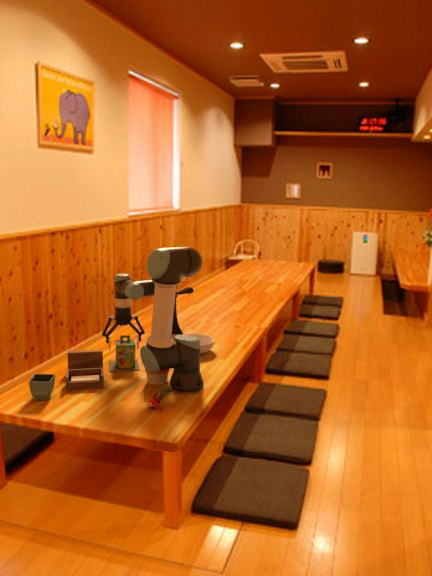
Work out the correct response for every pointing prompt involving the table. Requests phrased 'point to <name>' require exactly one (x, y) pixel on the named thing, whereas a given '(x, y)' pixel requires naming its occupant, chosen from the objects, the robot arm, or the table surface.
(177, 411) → the table surface
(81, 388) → the walnut rack
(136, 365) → the rubber mat
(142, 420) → the table surface
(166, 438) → the table surface
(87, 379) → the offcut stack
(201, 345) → the serving bowl
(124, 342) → the chalk box
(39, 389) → the flower pot
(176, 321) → the flared trumpet-armed statue
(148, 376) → the reusable coffee cup
